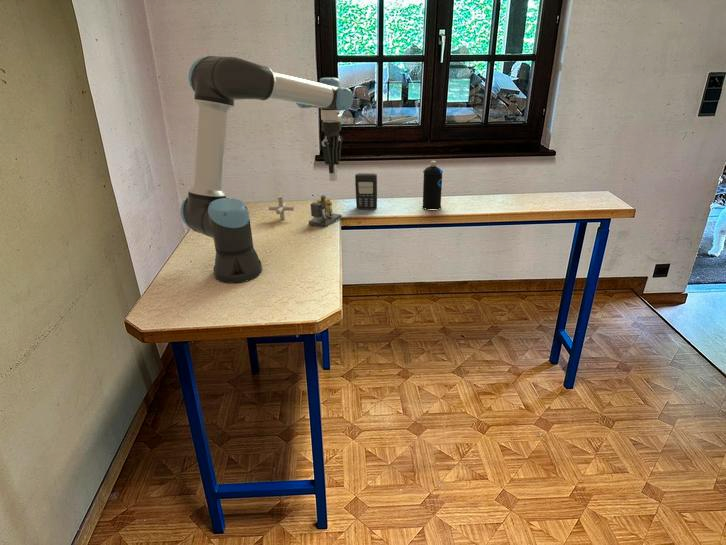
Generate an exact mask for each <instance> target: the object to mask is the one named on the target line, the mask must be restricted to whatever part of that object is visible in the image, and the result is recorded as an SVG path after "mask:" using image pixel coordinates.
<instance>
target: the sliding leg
mask: <svg viewBox="0 0 726 545" xmlns="http://www.w3.org/2000/svg"><path fill="white" fill-rule="evenodd" d="M332 202H333V201H331V199H330V198H328V197H326V195H321V196H320V198H318V199H316V203H321V204H322V206H325V218H326V217H328V216H329V215H330V216H332V213H333V207H332V206H333V203H332Z"/></svg>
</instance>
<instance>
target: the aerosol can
mask: <svg viewBox="0 0 726 545" xmlns="http://www.w3.org/2000/svg"><path fill="white" fill-rule="evenodd" d="M436 163H437V161H436V160H431V161H430V166H428V167H426V168H425V169H423V186H422V188H423V190H422V191H423V192H422V206H421V207H423V208H426V209H439V208H440V209H442V206H441V204H442V189H443V188H442V187H443V173H444V171H443V170H442V168H441V167H439V166H437V165H436ZM423 208H422V209H423ZM440 209H439V210H440Z"/></svg>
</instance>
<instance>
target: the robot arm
mask: <svg viewBox="0 0 726 545" xmlns="http://www.w3.org/2000/svg"><path fill="white" fill-rule="evenodd" d="M188 82H189V83H188V84H189V86H190V87H191V89H192V91H193V92H194V98H193V99H194V102H195V103H196V106H198V116H197V118H198V119H197V120H198V121H197V135H196V136H197V137H196V147H195V148H196V149H195V162H194V163H195V164H194V166H195V167H194V179H193V186H192V187H190V188H189V189H188V192H187V197H185V199H184V200H183V201H182V203H181V205H180V210H179V211H180V218H181V219H182V222H183V223H184V224H185V226H186V227H188V229H191V230H192V231H193V232H196V233H198V234H202V235H205V236H206V237H209V238H212V239H213V243H214V249H215V257H214V258H215V259H214V266H213V277H214V278H215V279H216V280H217V281H218V280H219V281H218V282H221V281H223V282H222V283H225V282H230V283H229V284H232V283H231V282H239V283H244V282H243V281H245V282H247V281H246V280H248V281H250V279H251V280H253V279H255V278H257V277H258V276H260V275H261V274H260V273H262V272H263V266H262V261H261V260H260V258H259V255H258V254H257V252H256V249H255V248H254V247H255V246H254V241H253V234H252V226H251V220H250V219H251V215H250V213H249V212H250V211H249V209H248V206H247V204H246V203H245V202H244V201H243V200H240V199H237V198H229V197H227V194H226V192H225V191H224V190H223V178H224V169H225V168H224V166H225V155H226V154H225V153H226V144H227V143H226V142H227V131H228V130H227V129H228V119H229V118H228V117H229V112H230V111H231V110H232V109H233V108H234V106H235V100H237V101H238V100H257V101H267V100H269V99H273V100H279V101H285V102H289V103H290V102H291V103H295V104H296V106H298V108H300V109H309V108H313V109H314V108H315V109H320V119H321V131H322V132H323V134H324V135H323V140H320V142H319V144H320V145H321V148H322V155H323V159H324V163H325V165H327V166H328V176H329V181H331V182H337V181H338V165H340V162H341V153H342V144H343V143H342V142H343V141H344V140H343V139H344V137H343V136H340V133H339V132H340V131H342V121H340V120H341V114H342V113H341V111H348V110H350V108H352V106H353V103H354V102H353V101H354V95H353V92H352V90H351V89H350V88H348V87H343V86H340V79H339V78H338V77H321V78H320V79H319V82H317V81H312V80H309V79H304V78H300V77H296V76H292V75H288V74H283V73H280V72H276V71H273V70H272V69H271V68H270V67H269V66H266V65H262V64H258V63H256V62H253V61H249V60H247V59H242V58H239V57H236V56H217V55H216V56H215V55H207V56H202V57H199V58H198V59H197V60H195V61H194V62H193V63H192V64H191V66H190V68H189V72H188ZM259 274H260V275H259ZM256 276H257V277H256ZM252 278H253V279H252Z"/></svg>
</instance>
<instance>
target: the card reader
mask: <svg viewBox="0 0 726 545" xmlns="http://www.w3.org/2000/svg"><path fill="white" fill-rule="evenodd" d="M354 175H355V176H354V177H355V178H354V179H355V184H354V187H355V203H356V209H358V210H359V209H360V210H364V209H365V210H376V209H378V174H377V173H356V174H354Z"/></svg>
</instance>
